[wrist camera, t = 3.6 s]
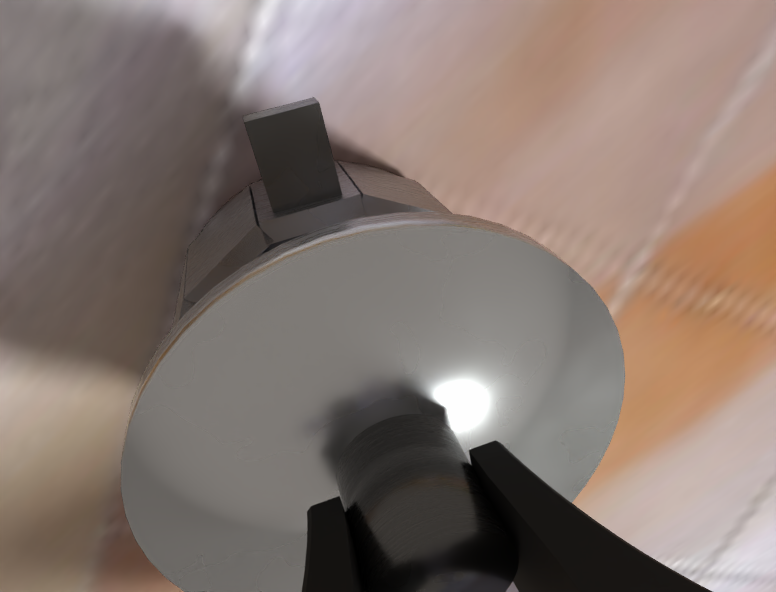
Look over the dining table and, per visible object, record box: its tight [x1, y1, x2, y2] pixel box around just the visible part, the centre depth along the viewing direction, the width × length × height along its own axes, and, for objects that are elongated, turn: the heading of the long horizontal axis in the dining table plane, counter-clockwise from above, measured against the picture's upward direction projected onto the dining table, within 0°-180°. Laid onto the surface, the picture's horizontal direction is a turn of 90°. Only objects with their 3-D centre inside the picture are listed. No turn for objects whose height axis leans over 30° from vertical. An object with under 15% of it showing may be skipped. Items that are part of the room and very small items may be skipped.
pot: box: [172, 97, 452, 329], centre depth 19 cm, size 15×10×4 cm
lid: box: [121, 212, 625, 592], centre depth 12 cm, size 11×11×5 cm
